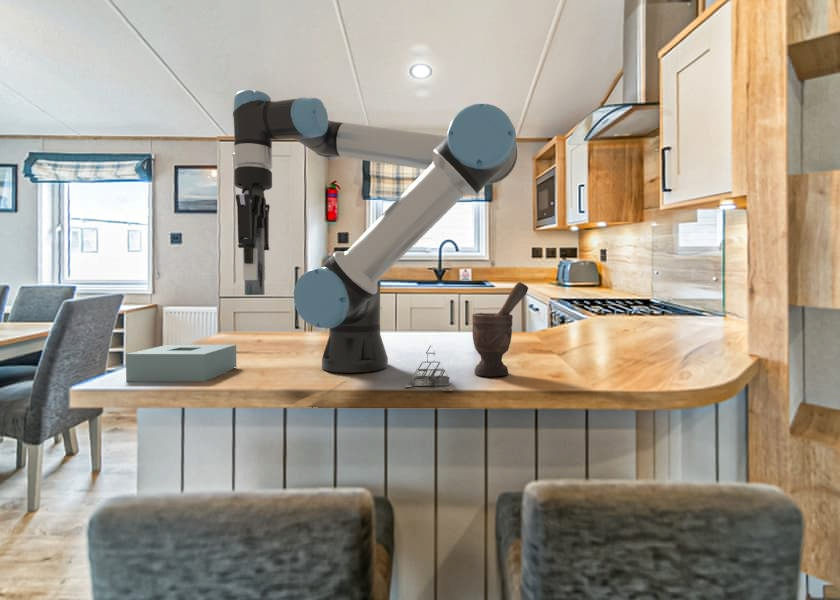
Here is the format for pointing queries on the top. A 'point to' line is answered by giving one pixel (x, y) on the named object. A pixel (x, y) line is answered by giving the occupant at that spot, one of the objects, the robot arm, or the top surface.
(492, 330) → the mortar and pestle
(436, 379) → the house of cards
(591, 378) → the top surface
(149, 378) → the bore block
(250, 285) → the pin
